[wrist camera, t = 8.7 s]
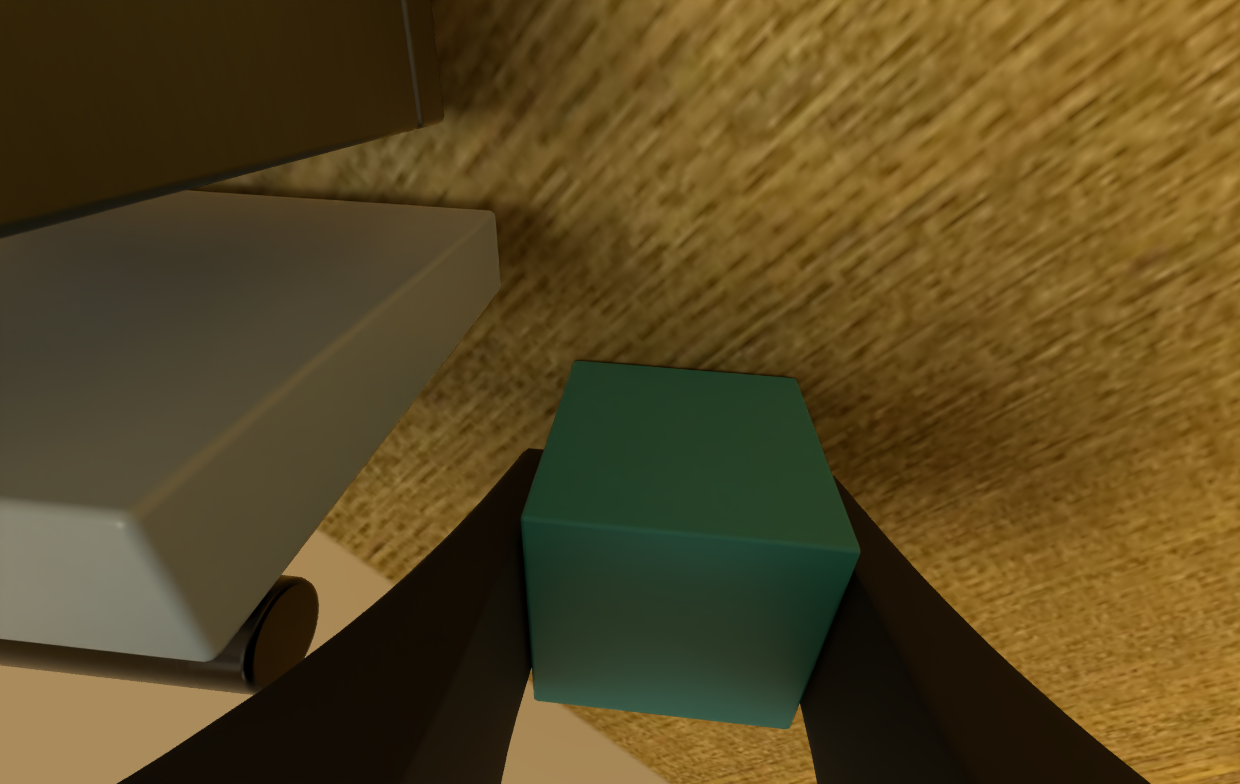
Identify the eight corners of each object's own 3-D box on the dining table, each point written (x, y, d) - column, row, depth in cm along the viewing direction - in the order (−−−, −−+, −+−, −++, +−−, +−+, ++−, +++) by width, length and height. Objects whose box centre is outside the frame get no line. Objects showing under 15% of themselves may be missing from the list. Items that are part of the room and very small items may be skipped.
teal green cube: (574, 518, 12) (533, 701, 8) (573, 358, 10) (519, 518, 6) (757, 536, 12) (790, 732, 8) (796, 376, 10) (863, 552, 6)
